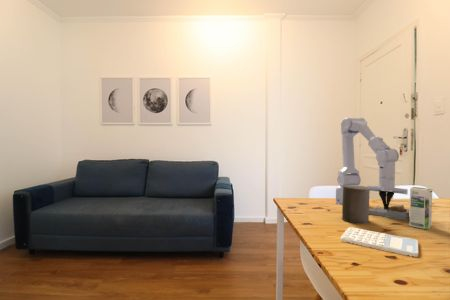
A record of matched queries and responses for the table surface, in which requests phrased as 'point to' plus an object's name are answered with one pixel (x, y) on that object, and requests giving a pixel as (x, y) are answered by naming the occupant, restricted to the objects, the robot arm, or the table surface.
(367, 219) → the pillar candle
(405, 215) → the rail
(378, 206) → the rubber pad
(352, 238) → the calculator
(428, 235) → the table surface
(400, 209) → the walnut block
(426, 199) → the syrup box
